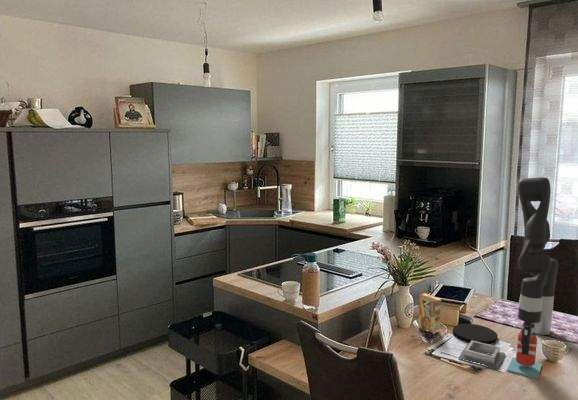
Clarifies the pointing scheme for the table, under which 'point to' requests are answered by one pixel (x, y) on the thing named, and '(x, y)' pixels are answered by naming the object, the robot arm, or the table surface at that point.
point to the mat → (524, 369)
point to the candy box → (429, 312)
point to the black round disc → (474, 333)
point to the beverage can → (530, 358)
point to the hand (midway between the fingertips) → (526, 350)
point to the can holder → (481, 358)
